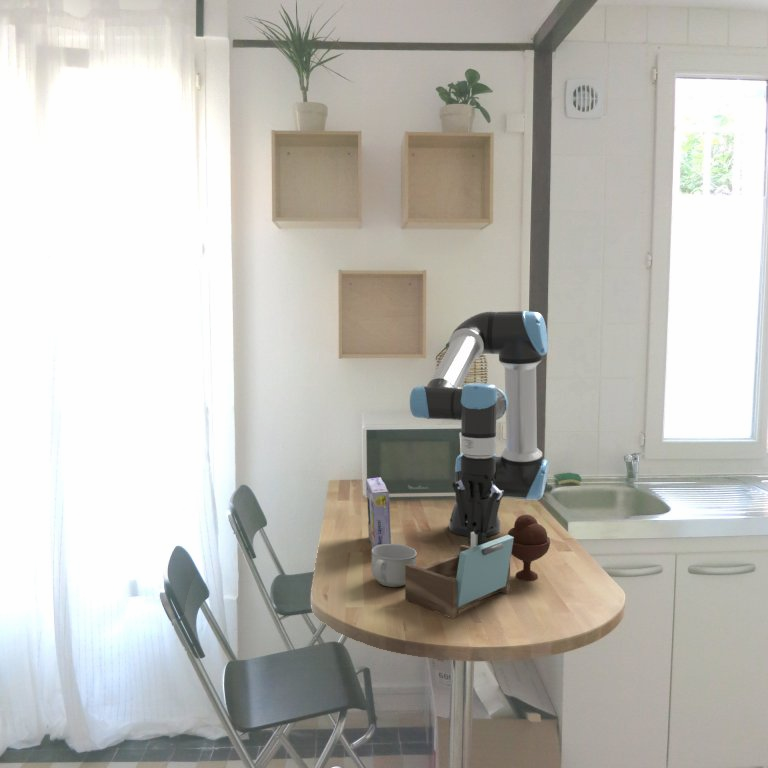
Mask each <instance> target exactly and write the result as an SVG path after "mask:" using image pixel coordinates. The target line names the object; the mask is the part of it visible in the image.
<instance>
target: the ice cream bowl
mask: <svg viewBox="0 0 768 768" xmlns="http://www.w3.org/2000/svg"><path fill="white" fill-rule="evenodd" d="M506 535H510V536H512V537H514V540H513V546H512V552H511V556H513V557H514V558H516V559H518V560H520V561H522V563H523V566H522V567H523V569H521V570H520V571H517V572H516V573H515V578H516V579H518V580H520V581H524V582H531V581H532V582H534V581H537V580H538V579H539V576H538V573H537V572H536V571H533V570H531V564H532V562H535V561H536V560H539V559H541V558H543V557H544V556H545V555H546V553H548V551H549V549H550V544H551V539H550V537H548V532H547V530H546V528H545V527H544V526H543V525H541V524H539V522H538V521H537V519H536V518H535V517H534V516H532V515H531V514H522V515H520V516H518V517H517V518H516V519H515V521H514V525H513V527H512V528H510V529H509V530H508V532H507V534H506Z"/></svg>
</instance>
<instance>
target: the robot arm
mask: <svg viewBox="0 0 768 768" xmlns="http://www.w3.org/2000/svg"><path fill="white" fill-rule="evenodd" d="M547 353H548V332H547V326H546V323H545V319H544V316H543V315H542V314H541V313H540V312H537V311H526V310H522V311H521V310H518V311H514V310H513V311H485V312H480V313H477V314H475V315H472V316H470V317H469V318H467V319H466V320H464V321H463V322H461V323H460V324H459V325H458V326H456V328H455V329H454V330H453V332H452V333H451V335H450V337H449V341H448V348H447V350H446V352H445V354H444V355H443V357H442V359H441V361H440V363H439V364H438V366H437V368H436V370H435V372H434V373H433V375H432V377H431V379H430V380H429V382H428V383H427V385H426V386H424V385H421V386H420V385H419V386H414V387H413V389H412V390H411V392H410V396H409V408H410V413H411V415H412V416H413V417H414V418H419V419H426V420H453V421H454V420H456V421H461V422H460V423H461V425H460V426H461V430H460V431H461V434H460V438H461V439H460V440H461V441H460V452H461V454H459V455H458V456H456V459H455V468H454V481H455V482H452V485H451V486H452V488H453V490H454V494H455V495H454V506H453V508H452V512H451V516H450V518H449V522H448V527H449V528H448V529H449V531H450V532H451V533H454V534H456V535H460V536H464V537H468V546H469V545H470V547H471V548H473V547H476V546H478V545H481V544H484V543H487V537H491V536H495V535H498V534H499V533H500V532H501V527H502V526H501V521H500V518H499V513H498V512H499V509H500V504H501V501H502V499H503V498H507V499H515V500H524V501H527V500H531V501H538V500H540V499H542V497H543V495H544V493H545V489H546V485H547V479H548V472H549V460H547V459H545V458H543V457H544V456H543V452H542V451H541V449H539V448H538V430H537V428H538V427H537V425H538V421H537V420H538V419H537V418H538V417H537V415H538V413H537V411H538V410H537V366H538V365H539V364H540V363H541V362H542V360H543V359H542V357H543V356H544V355H547ZM483 354H484V355H485V354H487V355H489V354H491V355H498V362H499V364H501V365H502V366H503V367H504V391H503V390H502V389H501V388H498V387H497V386H496V385H494V384H493V383H486V382H485V383H484V382H473V383H465V384H464V382H465V380H466V378H467V376H468V374H469V372H470V369H471V368H472V366H473V364H474V361H475V360H476V359H479V357H481V356H482V355H483ZM463 384H464V385H463ZM504 415H505V438H506V439H505V442H506V445H505V446H506V447H505V448H504V449H503V450H502V451H501V453H500V455H501V456H497V420H499V419H500V418H502V417H503V416H504Z"/></svg>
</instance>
